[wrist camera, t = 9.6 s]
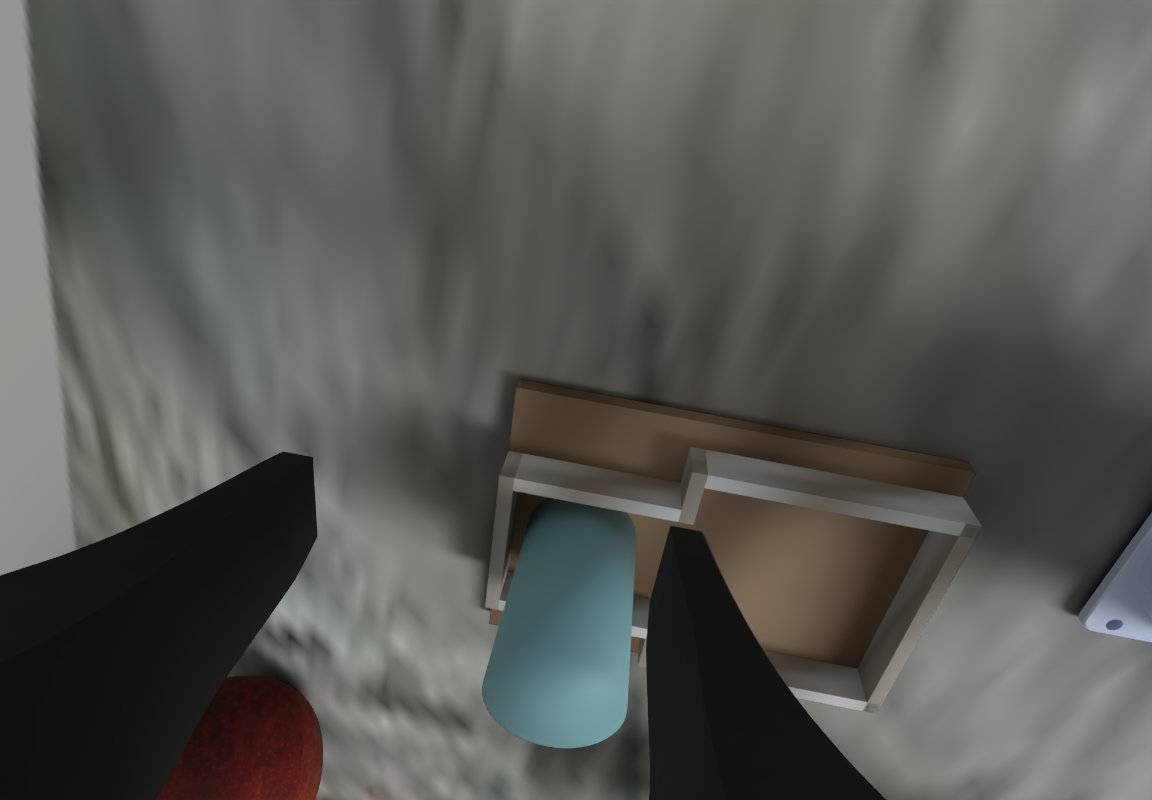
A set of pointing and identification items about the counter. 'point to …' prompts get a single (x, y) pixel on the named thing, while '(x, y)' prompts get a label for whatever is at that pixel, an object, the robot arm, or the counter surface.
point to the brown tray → (754, 526)
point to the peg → (566, 628)
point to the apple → (251, 746)
